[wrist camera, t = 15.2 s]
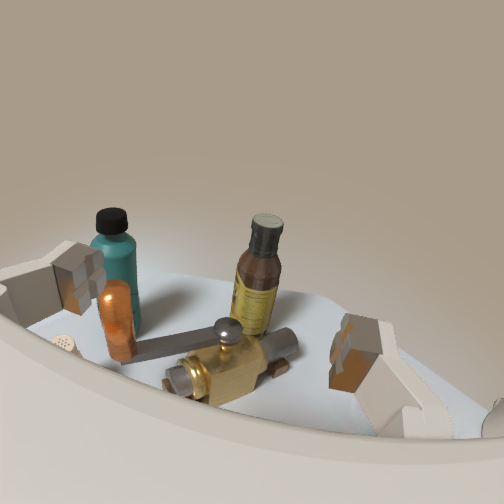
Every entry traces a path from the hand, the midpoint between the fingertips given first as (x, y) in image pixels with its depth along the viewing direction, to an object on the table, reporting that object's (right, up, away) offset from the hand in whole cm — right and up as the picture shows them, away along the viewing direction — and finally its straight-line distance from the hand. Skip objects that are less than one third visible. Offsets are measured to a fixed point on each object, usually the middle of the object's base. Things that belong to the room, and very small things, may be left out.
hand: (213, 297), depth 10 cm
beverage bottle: (-19, -11, +36) cm, 42 cm away
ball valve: (-2, -16, +32) cm, 36 cm away
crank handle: (-7, -9, +23) cm, 26 cm away
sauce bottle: (0, -11, +41) cm, 43 cm away
